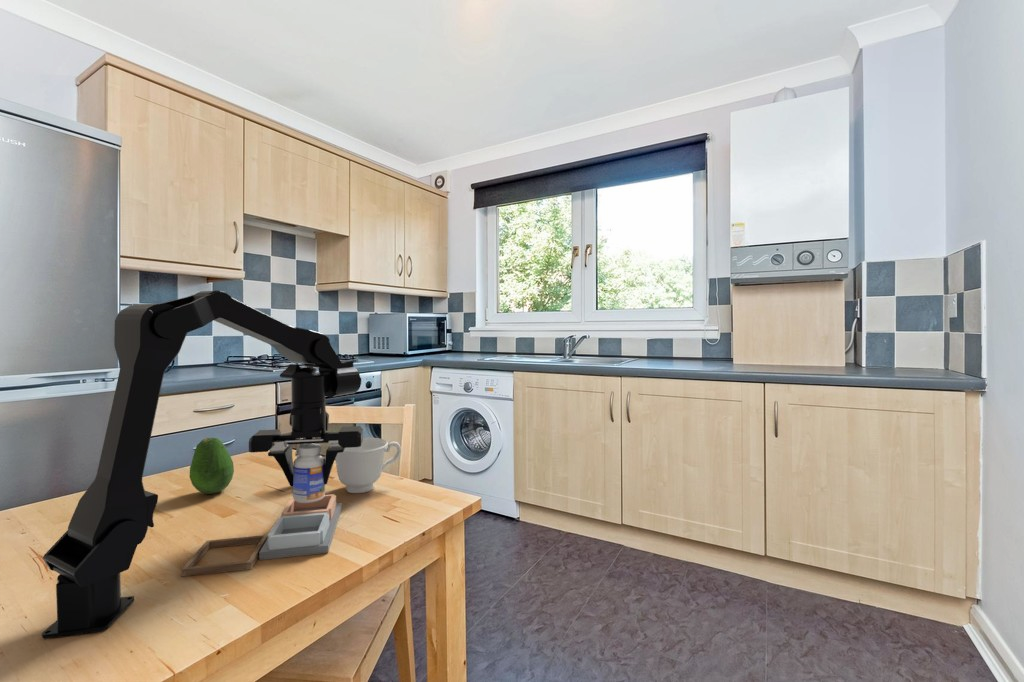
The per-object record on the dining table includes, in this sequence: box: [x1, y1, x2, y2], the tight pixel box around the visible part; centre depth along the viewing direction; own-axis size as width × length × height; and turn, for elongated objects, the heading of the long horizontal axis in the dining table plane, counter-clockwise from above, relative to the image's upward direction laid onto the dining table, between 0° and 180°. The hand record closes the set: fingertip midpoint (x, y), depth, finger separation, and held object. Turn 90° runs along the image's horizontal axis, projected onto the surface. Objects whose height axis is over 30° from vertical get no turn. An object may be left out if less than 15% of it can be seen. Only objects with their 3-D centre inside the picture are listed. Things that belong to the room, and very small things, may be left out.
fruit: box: [189, 436, 235, 495], centre depth 100 cm, size 8×8×12 cm
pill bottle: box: [292, 443, 326, 503], centre depth 86 cm, size 5×5×10 cm
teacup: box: [334, 437, 402, 494], centre depth 103 cm, size 12×15×10 cm
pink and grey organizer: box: [258, 493, 343, 561], centre depth 82 cm, size 18×10×3 cm, turn 14°
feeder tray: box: [180, 534, 268, 577], centre depth 73 cm, size 9×9×1 cm
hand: (309, 484), depth 86 cm, fingers closed on pill bottle, 5 cm apart
